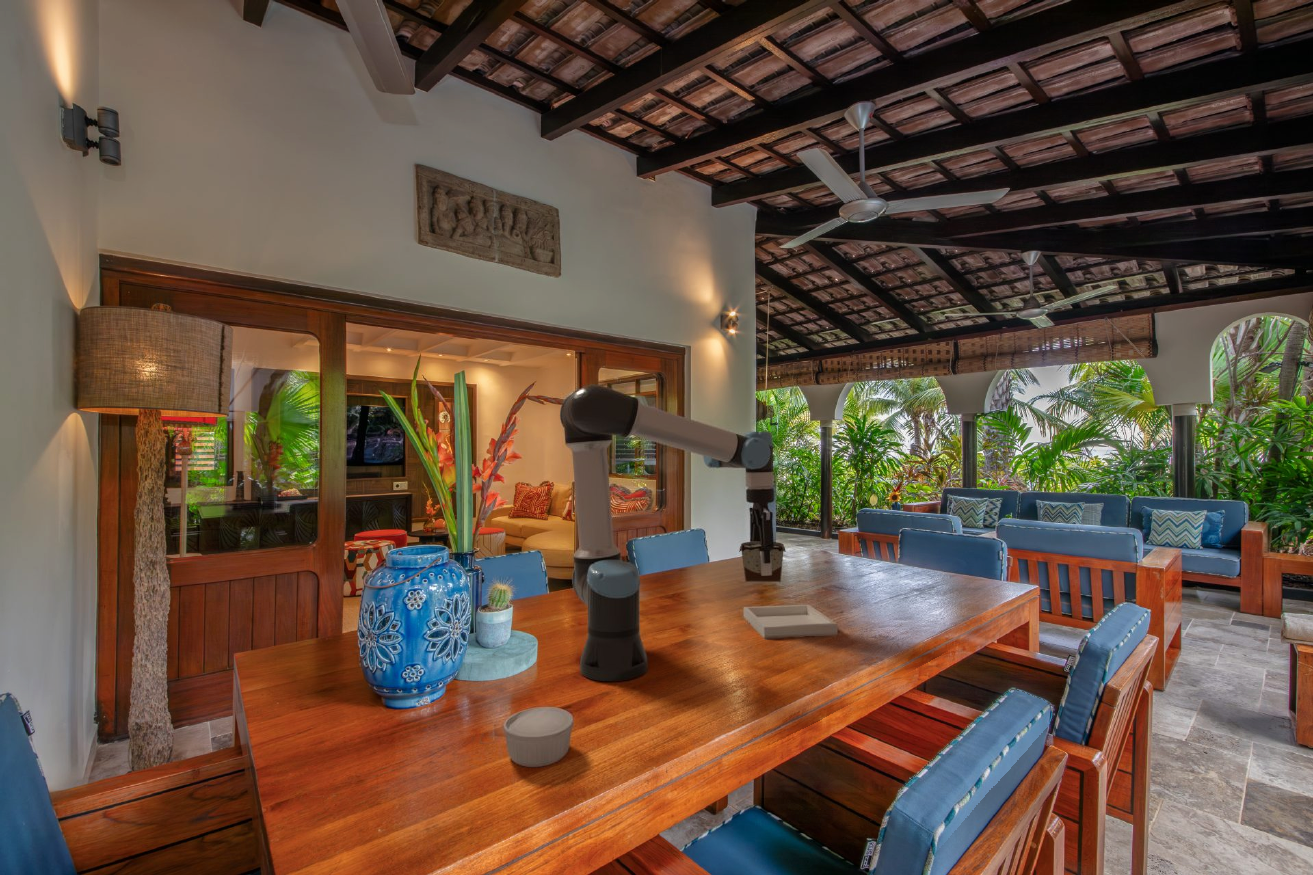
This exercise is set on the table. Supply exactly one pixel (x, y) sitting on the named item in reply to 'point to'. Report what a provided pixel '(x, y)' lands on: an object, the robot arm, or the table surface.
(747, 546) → the grey brown half-round piece
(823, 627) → the tray
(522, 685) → the table surface
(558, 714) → the ramekin
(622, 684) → the table surface
